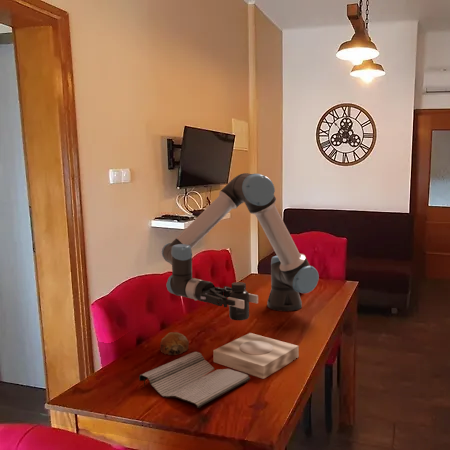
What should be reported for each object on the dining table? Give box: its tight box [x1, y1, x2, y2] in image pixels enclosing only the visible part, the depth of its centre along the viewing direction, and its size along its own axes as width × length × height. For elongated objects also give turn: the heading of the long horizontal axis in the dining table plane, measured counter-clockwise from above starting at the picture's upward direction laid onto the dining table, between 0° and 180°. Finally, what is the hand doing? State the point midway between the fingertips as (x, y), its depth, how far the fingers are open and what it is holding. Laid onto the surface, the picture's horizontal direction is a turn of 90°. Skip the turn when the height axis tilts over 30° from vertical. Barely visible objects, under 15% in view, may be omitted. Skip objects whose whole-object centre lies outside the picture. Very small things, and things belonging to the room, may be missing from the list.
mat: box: [138, 351, 251, 409], centre depth 145 cm, size 23×24×5 cm
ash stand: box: [212, 332, 300, 380], centre depth 161 cm, size 20×20×4 cm
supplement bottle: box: [228, 281, 250, 321], centre depth 167 cm, size 7×7×12 cm
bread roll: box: [159, 331, 190, 356], centre depth 171 cm, size 10×10×8 cm
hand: (250, 301), depth 164 cm, fingers closed on supplement bottle, 7 cm apart
